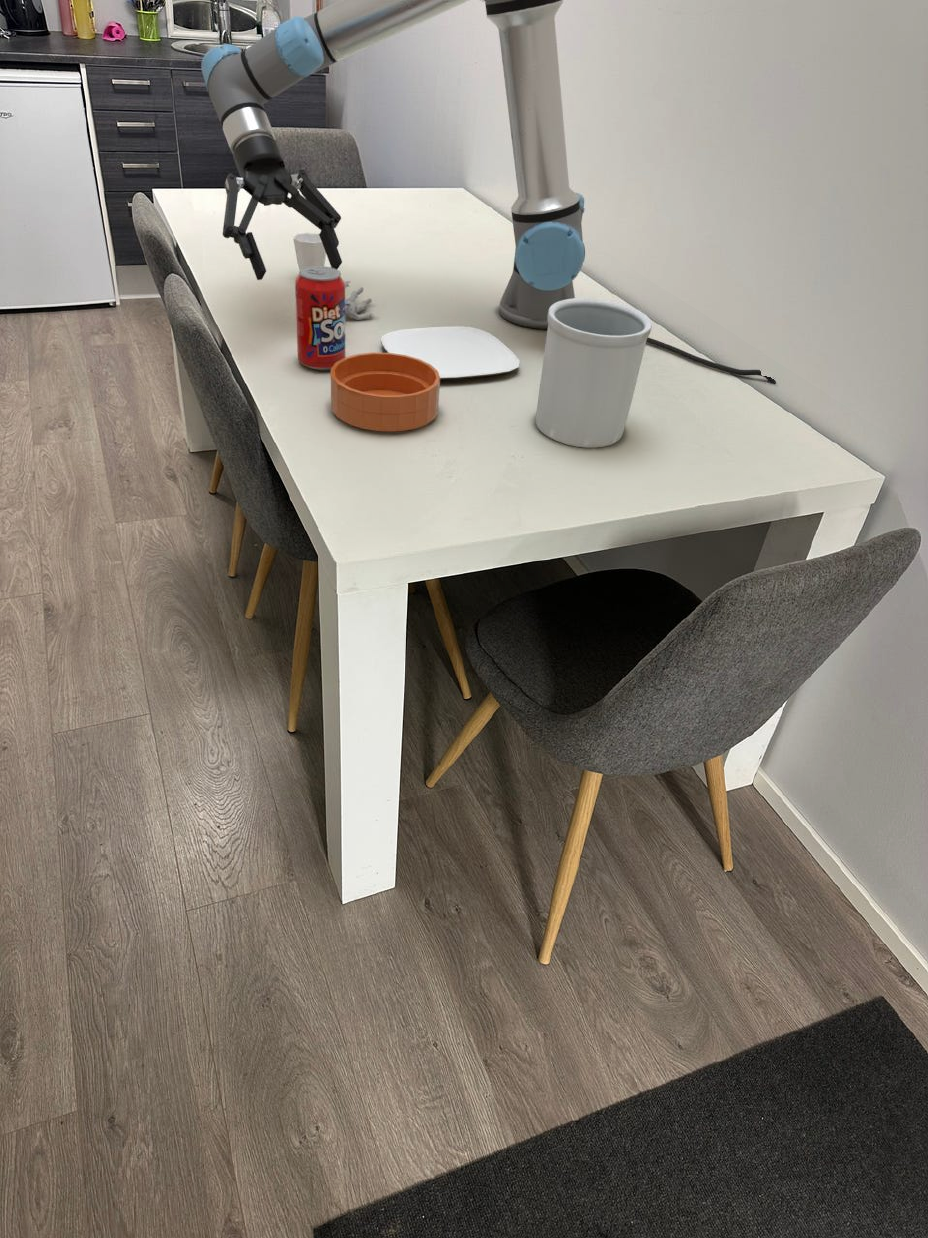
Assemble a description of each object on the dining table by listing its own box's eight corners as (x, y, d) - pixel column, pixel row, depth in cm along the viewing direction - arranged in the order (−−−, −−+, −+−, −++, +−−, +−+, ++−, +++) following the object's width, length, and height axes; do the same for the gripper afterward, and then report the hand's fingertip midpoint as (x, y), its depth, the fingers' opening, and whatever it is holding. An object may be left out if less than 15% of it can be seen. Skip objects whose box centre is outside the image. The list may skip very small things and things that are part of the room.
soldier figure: (382, 313, 169) (372, 313, 158) (363, 329, 171) (351, 330, 159) (356, 279, 167) (344, 277, 156) (337, 295, 169) (324, 294, 157)
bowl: (445, 397, 139) (448, 360, 135) (426, 442, 126) (428, 403, 123) (346, 382, 140) (346, 346, 136) (318, 425, 128) (317, 387, 124)
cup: (298, 284, 175) (296, 242, 170) (288, 268, 182) (286, 228, 177) (332, 283, 177) (331, 242, 172) (321, 268, 185) (320, 227, 180)
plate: (370, 339, 155) (370, 330, 154) (480, 331, 163) (481, 322, 162) (413, 389, 140) (413, 379, 139) (532, 378, 148) (533, 368, 147)
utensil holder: (643, 447, 131) (670, 333, 120) (552, 453, 127) (571, 336, 116) (604, 405, 142) (625, 296, 131) (518, 409, 138) (533, 298, 127)
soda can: (305, 352, 149) (302, 261, 139) (350, 358, 148) (350, 267, 139) (292, 369, 142) (288, 275, 133) (338, 375, 142) (338, 282, 133)
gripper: (315, 158, 150) (358, 274, 150) (175, 165, 138) (222, 291, 138) (330, 130, 144) (375, 251, 144) (184, 134, 131) (234, 266, 131)
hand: (300, 271), depth 141 cm, fingers open, 13 cm apart
